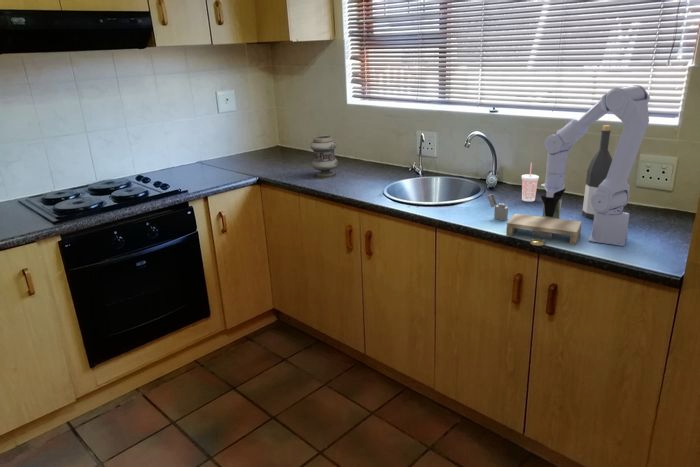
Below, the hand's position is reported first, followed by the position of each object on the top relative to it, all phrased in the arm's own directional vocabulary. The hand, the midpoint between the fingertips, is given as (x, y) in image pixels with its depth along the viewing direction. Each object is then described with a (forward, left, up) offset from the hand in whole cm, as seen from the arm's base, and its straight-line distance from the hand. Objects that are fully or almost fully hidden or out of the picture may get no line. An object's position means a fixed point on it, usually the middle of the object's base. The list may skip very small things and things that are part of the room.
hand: (551, 212), depth 172 cm
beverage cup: (+12, -22, -3) cm, 26 cm away
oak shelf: (0, +13, -3) cm, 13 cm away
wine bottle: (-12, -12, -3) cm, 18 cm away
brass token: (0, +21, -4) cm, 21 cm away
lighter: (+17, +3, -3) cm, 18 cm away
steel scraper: (0, +7, -3) cm, 8 cm away
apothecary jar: (+104, -26, -3) cm, 107 cm away
